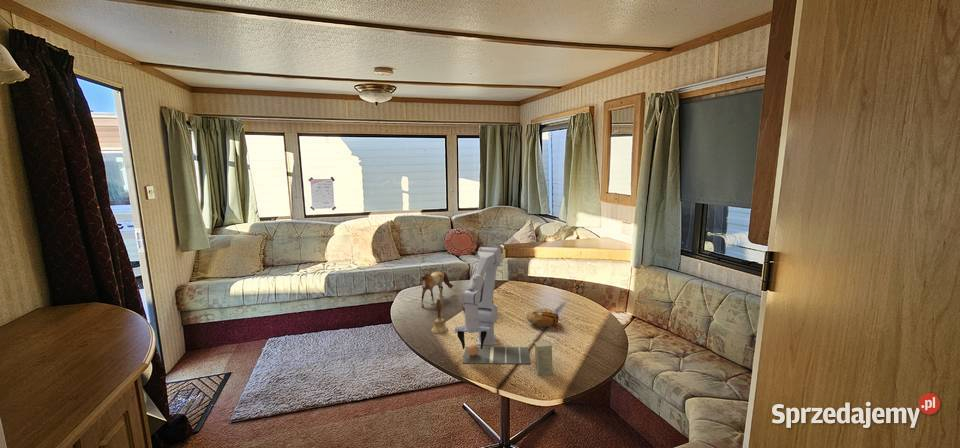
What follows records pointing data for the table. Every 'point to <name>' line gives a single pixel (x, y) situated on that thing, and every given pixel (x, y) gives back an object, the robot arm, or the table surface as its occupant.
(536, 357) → the skincare box
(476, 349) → the ball
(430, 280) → the horse figurine
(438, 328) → the hand bell
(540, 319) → the nautilus
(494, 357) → the lane mat
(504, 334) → the table surface
